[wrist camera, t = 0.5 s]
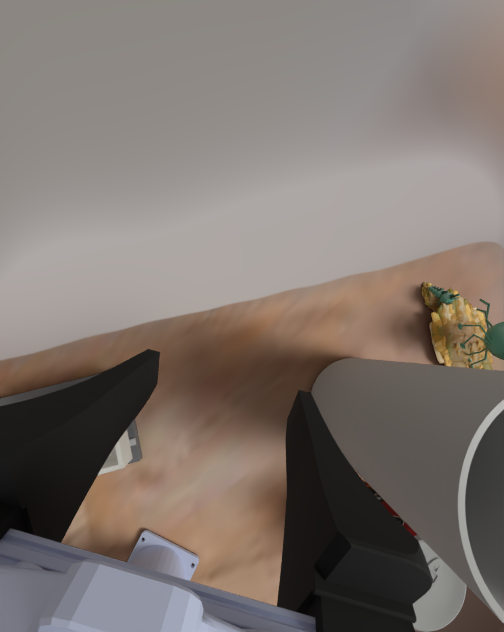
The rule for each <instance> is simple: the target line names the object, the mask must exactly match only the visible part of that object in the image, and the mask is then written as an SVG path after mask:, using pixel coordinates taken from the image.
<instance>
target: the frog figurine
mask: <svg viewBox="0 0 504 632" xmlns="http://www.w3.org/2000/svg"><path fill="white" fill-rule="evenodd" d="M438 288H439V287H438ZM438 288H436V286H435V287H433V286H432V285H431V283H429V284H428V283H424V284H423V287H422V291H421V295H422V296H423V298H424V299H425V304H426V305H427V306H428V307H429V308H431V309H432V310H433V313H431V316H432V320H433V321H432V322H431V323H430V330H431V337H432V343H433V345H434V350H435V353H436V356H437V359H438V361H439V362H440V363H444V365H445V366H452V367H464V368H475V369H487V370H492V367H491V363H493V360H492V355H494V356H496V357H498V358H500V359H502V360H504V322H501V323H498V324H496V325H494V326H492V324H491V323H490V322H489V321H488V313H489V307H490V304H489V303H487V302H485V301H484V300H482V299H480V301H481V302H483V303H484V304H486V305H488V306H487V312H486V311H484V310H480V309H477V308H476V307H475V308H473V307H472V305H471V304H470V303H468V301H467V299H464V300H463V298H462V297H460V294H458V292H457V291H456V290H454V291H453V290H452V289H451V287H450V289H449V290H448V291H443V288H440V289H438ZM441 304H442V306H441ZM481 312H484V313H485V318H486V319H485V318H484V317H483V316H484V314H483V313H481ZM486 323H487V328H488V330H486V328H485V324H486ZM489 325H490V326H491V327H490V328H489Z"/></svg>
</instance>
